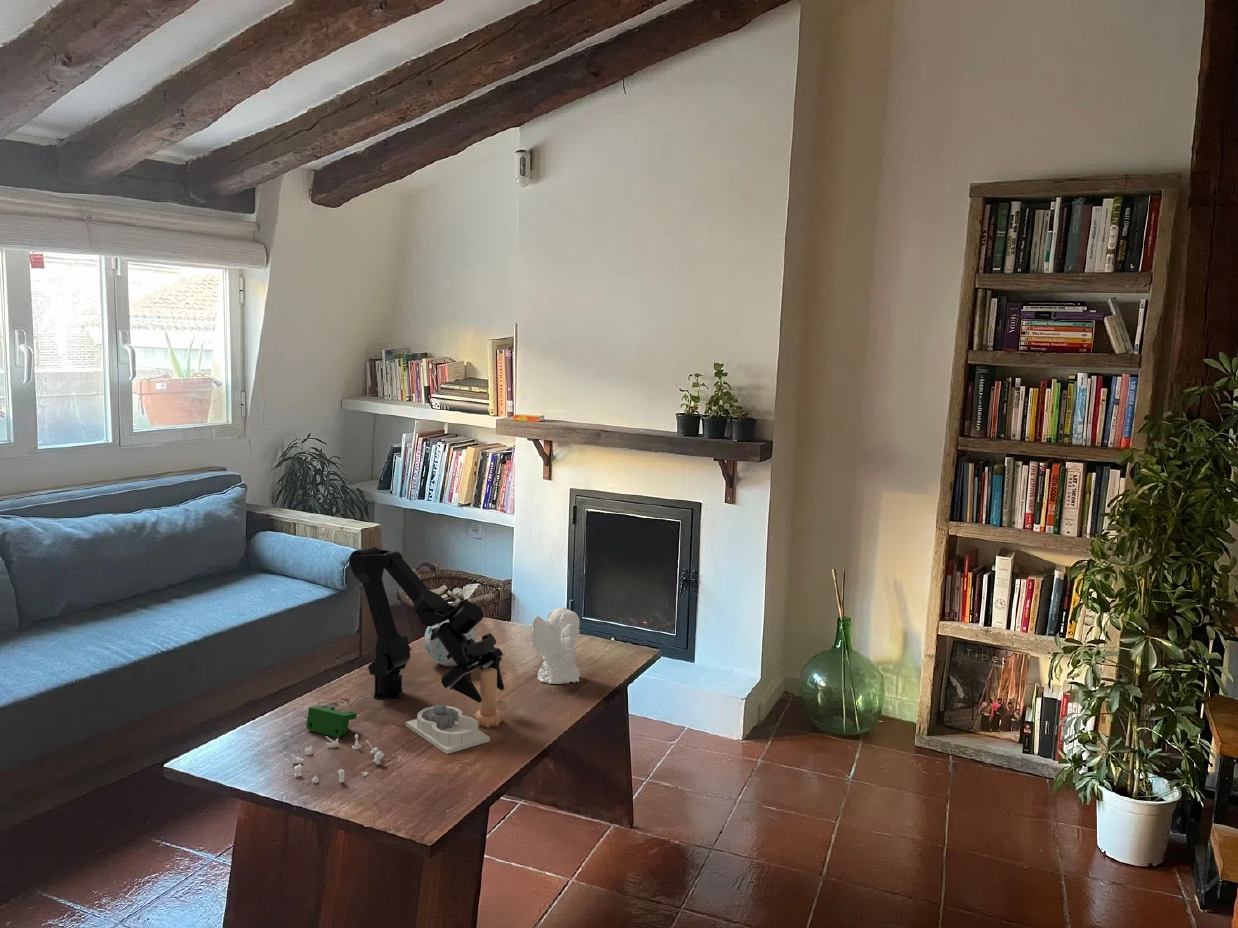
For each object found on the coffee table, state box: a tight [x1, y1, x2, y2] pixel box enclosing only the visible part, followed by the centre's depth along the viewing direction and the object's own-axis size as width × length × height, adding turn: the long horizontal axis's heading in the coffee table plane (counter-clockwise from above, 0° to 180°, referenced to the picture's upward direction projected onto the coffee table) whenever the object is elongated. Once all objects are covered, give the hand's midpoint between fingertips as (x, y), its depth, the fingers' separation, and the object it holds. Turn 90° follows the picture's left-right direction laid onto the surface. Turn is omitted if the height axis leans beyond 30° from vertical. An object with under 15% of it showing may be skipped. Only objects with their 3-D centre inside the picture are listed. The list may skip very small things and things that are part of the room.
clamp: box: [306, 705, 358, 738], centre depth 224 cm, size 11×6×8 cm, turn 61°
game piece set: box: [289, 733, 385, 784], centre depth 207 cm, size 19×20×4 cm
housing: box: [405, 703, 491, 755], centre depth 224 cm, size 19×12×6 cm, turn 41°
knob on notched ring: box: [473, 668, 503, 728], centre depth 231 cm, size 7×7×13 cm
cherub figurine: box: [531, 606, 581, 685], centre depth 260 cm, size 13×12×20 cm
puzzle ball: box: [423, 620, 478, 667], centre depth 269 cm, size 15×15×15 cm
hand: (492, 695), depth 230 cm, fingers open, 9 cm apart
